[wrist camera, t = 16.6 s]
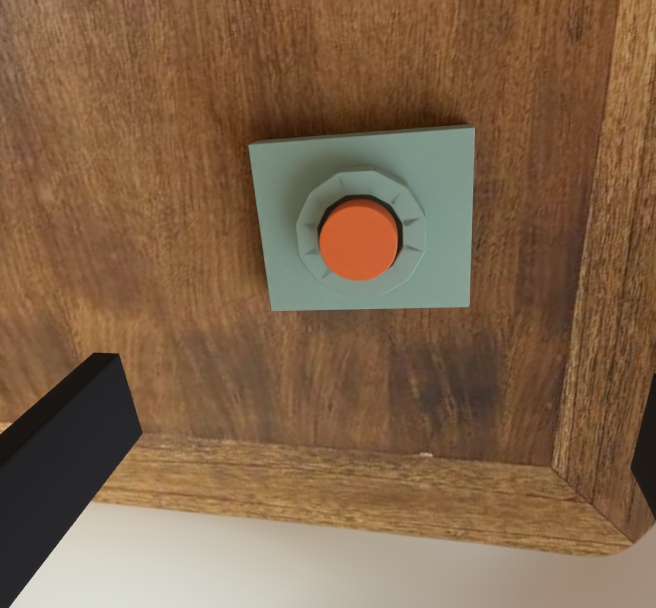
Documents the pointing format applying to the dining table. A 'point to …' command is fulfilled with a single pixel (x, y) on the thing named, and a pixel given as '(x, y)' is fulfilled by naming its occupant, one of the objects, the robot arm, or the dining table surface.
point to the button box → (377, 185)
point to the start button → (359, 240)
